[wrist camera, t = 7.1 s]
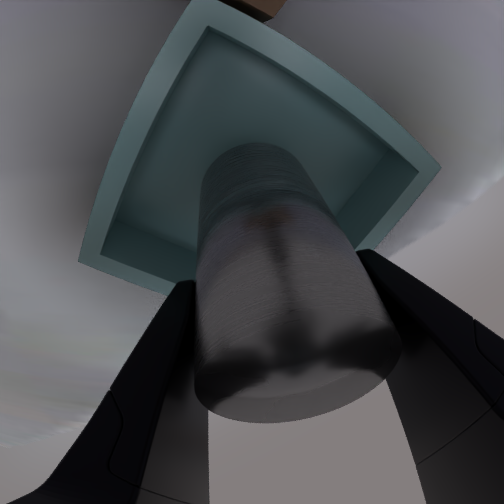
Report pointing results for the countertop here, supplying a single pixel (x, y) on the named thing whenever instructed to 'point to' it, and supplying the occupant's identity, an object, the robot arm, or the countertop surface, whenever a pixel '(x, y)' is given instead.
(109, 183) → the tray
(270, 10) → the block
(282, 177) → the translucent grey cylinder
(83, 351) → the countertop surface
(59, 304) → the countertop surface
